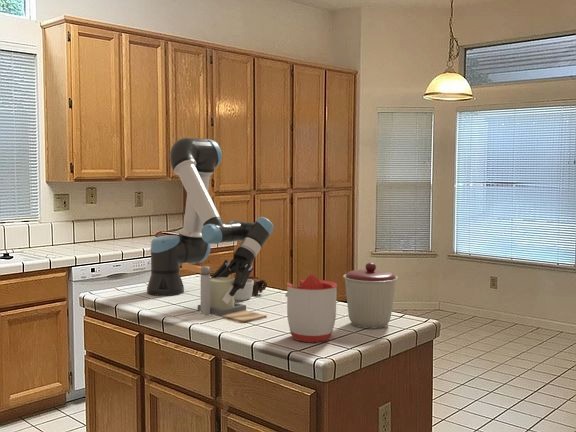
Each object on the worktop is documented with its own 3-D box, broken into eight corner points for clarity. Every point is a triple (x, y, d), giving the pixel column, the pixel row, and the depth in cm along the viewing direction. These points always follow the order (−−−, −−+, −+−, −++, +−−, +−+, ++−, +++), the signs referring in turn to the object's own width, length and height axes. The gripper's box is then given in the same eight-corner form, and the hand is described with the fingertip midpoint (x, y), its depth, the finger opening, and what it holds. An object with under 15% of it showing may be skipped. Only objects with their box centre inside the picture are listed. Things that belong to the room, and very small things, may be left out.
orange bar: (203, 274, 216) (204, 267, 216) (180, 268, 229) (180, 262, 228) (211, 274, 218) (211, 267, 218) (187, 267, 230) (187, 261, 230)
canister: (331, 325, 206) (332, 262, 204) (361, 315, 219) (362, 257, 218) (378, 335, 194) (379, 269, 192) (406, 324, 208) (408, 262, 206)
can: (223, 306, 232) (224, 275, 231) (239, 310, 225) (239, 278, 224) (204, 310, 225) (204, 277, 224) (219, 314, 219) (219, 281, 218)
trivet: (221, 317, 214) (221, 315, 214) (244, 312, 222) (244, 310, 222) (244, 323, 207) (244, 320, 207) (266, 317, 215) (266, 315, 215)
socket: (191, 311, 222) (191, 273, 221) (222, 305, 234) (222, 268, 233) (214, 317, 214) (214, 277, 213) (246, 310, 226) (246, 272, 225)
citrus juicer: (303, 327, 202) (304, 267, 200) (346, 337, 191) (347, 273, 189) (271, 337, 190) (271, 273, 189) (315, 348, 179) (316, 280, 177)
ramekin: (238, 303, 238) (239, 285, 238) (213, 298, 246) (213, 281, 245) (260, 297, 249) (260, 280, 248) (235, 293, 257) (235, 276, 256)
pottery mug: (237, 296, 252) (236, 277, 256) (247, 302, 260) (246, 284, 264) (263, 291, 249) (262, 272, 252) (273, 297, 257) (271, 278, 260)
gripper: (272, 261, 228) (241, 311, 217) (232, 255, 242) (201, 301, 232) (262, 248, 224) (230, 298, 213) (222, 243, 238) (190, 289, 227)
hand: (215, 300), depth 222 cm, fingers closed on can, 9 cm apart
